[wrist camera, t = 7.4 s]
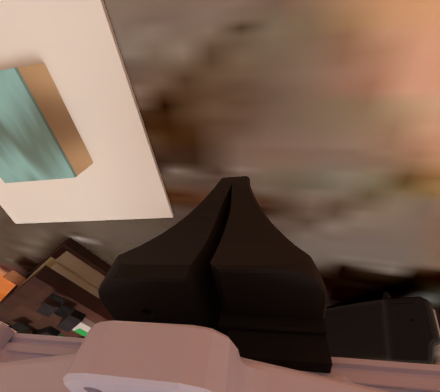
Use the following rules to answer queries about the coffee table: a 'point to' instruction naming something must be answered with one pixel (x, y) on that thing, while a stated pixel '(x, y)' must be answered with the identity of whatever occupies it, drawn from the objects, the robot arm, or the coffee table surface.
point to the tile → (37, 129)
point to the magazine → (385, 330)
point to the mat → (83, 116)
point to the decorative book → (58, 294)
